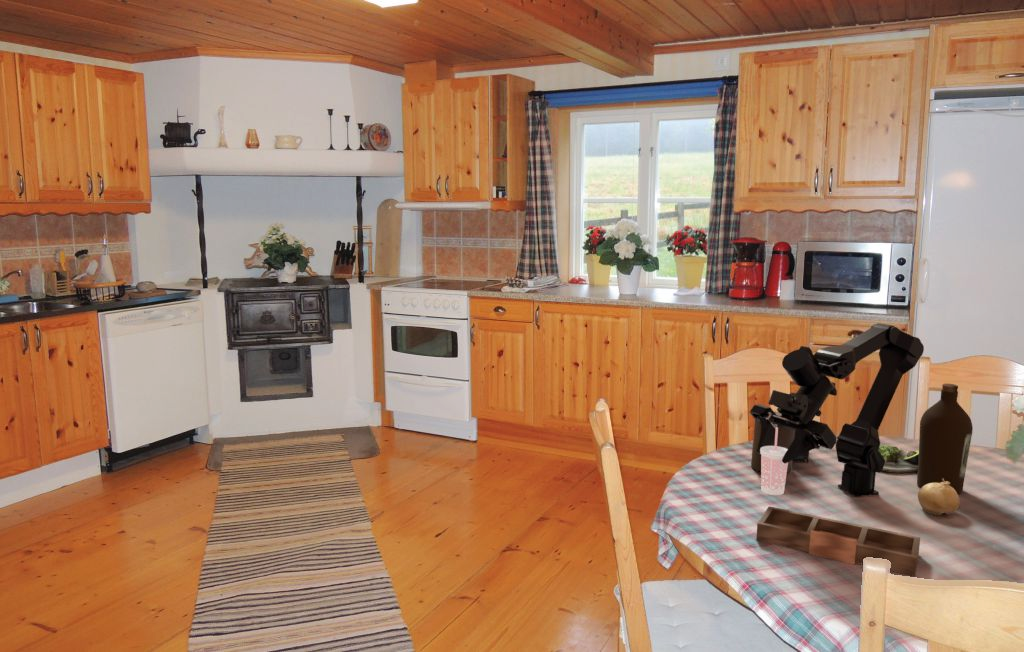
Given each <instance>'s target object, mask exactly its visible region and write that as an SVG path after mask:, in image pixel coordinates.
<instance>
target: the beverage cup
mask: <svg viewBox="0 0 1024 652" xmlns="http://www.w3.org/2000/svg"><path fill="white" fill-rule="evenodd" d="M777 437H778V427H776V432H775V446H763V447H761V448H760V454H761V472H760V473H761V474H760V483H761V484H760V486H761V488H760V490H761V492H762V493H764V494H766V495H771V496H782V495H783V494H785V489H786V488H785V487H786V481H787V475H788V474H787V467H788V463H786V464H785V463H783V462H782V459H783V457H784V455H785V453H786V451H787V450H788V449H786V448H783V447H779V446H777Z"/></svg>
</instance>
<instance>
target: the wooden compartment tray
mask: <svg viewBox="0 0 1024 652" xmlns="http://www.w3.org/2000/svg"><path fill="white" fill-rule="evenodd" d="M756 525H757V527H756V540H755V541H758V542H762V541H764V542H763V543H767V542H768V544H771V543H772V545H776V546H781V547H784V546H785V548H789V549H793V550H798V551H803V552H807V553H808V554H809V555H812V556H816V557H821V558H824V557H825V559H828V560H834V561H838V562H843V563H847V564H851V565H855V564H859V565H863V559H864V558H866V557H873V558H882V559H887V560H889V561H890V562H891V568H890V571H889V572H895V573H899V574H903V575H907V576H910V577H911V576H913V577H916V574H917V565H918V561H919V554H920V544H921V543H920V542H921V537H920V536H915V535H910V534H905V533H902V532H896V531H891V530H888V529H887V530H886V529H881V528H876V527H871V526H866V525H862V524H856V523H853V522H852V523H851V522H847V521H842V520H838V519H833V518H827V517H822V516H818V515H813V514H807V513H803V512H799V511H793V510H789V509H784V508H779V507H774V506H768V507H767V508H766V510H765V511H764V513H763V514H762V516H761V517H760V519H759V520H758V522H757V524H756ZM861 563H862V564H861Z"/></svg>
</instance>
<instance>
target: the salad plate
mask: <svg viewBox="0 0 1024 652" xmlns="http://www.w3.org/2000/svg"><path fill="white" fill-rule="evenodd" d="M878 451H879V452H880V454H881V455H882V457H883V458H884V459H885V464H884V467H883V469H882V470H881V471H882V472H883V471H884V472H889V473H894V472H895V473H900V472H901V473H918V460H919V449H918V450H909V451H908V450H905V449H902V448H899V447H897V446H894V445H892V446H891V445H880V446H879V449H878Z"/></svg>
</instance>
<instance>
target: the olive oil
mask: <svg viewBox="0 0 1024 652" xmlns="http://www.w3.org/2000/svg"><path fill="white" fill-rule="evenodd" d="M941 386H942V387H941V388H942V389H941V390H940V399H939V400H938V401H937V402H936V403H934V404H933V405H932V406H930V407H929V408H927V409H926V410H925V411H924V412H923V414H922V416H921V418H920V421H919V443H918V450H919V460H918V472H917V477H916V478H917V479H916V485H917V487H918V488H919V489H921V488H922V487H923V486H924V485H926V484H929V483H941V482H944V481H948V482H950V484H949V485H950V486H951V487H952V488H953V489H954V490H955V491H956V492H957V494H958V496H959V495H961V494H962V493H963V489H964V485H965V484H964V483H965V477H966V471H967V466H968V465H967V464H968V460H969V459H968V458H969V452H970V448H971V441H972V436H973V422H972V419H971V417H970V416H969V414H968V413H967V412H966V411H965V409H964V408H963V407H962V406H961V405H960V403H959V402H958V398H959V397H958V396H959V391H958V389H959V385H957V384H954V383H943V384H941ZM943 478H944V481H943V480H942V479H943Z"/></svg>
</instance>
